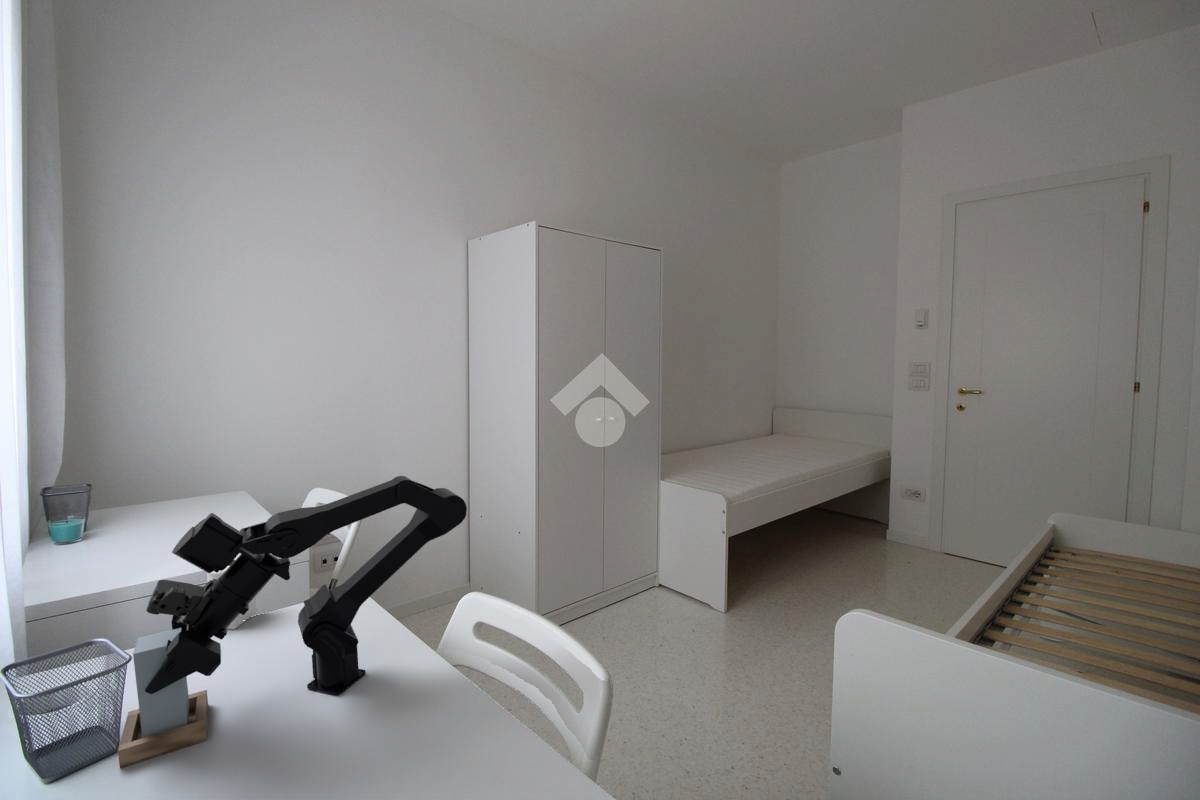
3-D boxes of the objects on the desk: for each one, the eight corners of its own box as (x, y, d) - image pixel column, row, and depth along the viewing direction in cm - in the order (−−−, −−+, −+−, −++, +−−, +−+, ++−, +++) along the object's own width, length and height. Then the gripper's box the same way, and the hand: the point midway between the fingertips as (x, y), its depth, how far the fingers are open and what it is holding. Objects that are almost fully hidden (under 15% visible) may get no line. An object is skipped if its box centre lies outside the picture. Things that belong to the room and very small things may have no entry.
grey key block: (189, 706, 85) (181, 627, 83) (187, 725, 80) (179, 642, 79) (147, 719, 82) (137, 637, 80) (142, 739, 78) (133, 654, 76)
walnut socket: (208, 704, 88) (206, 689, 88) (206, 740, 80) (204, 723, 80) (130, 727, 83) (128, 711, 82) (119, 768, 75) (117, 750, 75)
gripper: (189, 540, 88) (104, 627, 84) (181, 583, 73) (76, 693, 68) (252, 576, 94) (176, 660, 89) (257, 623, 78) (165, 728, 73)
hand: (150, 682), depth 80 cm, fingers closed on grey key block, 5 cm apart
